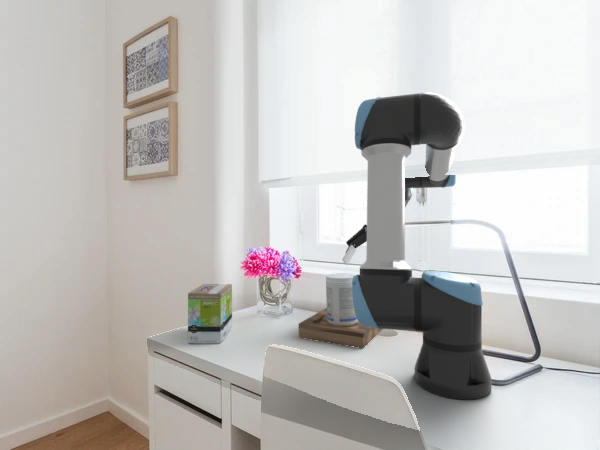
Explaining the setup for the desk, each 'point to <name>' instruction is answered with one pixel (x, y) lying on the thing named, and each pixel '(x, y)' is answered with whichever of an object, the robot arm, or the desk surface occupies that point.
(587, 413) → the desk surface
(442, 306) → the robot arm
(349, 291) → the supplement tub
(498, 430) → the desk surface
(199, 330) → the tea box
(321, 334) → the walnut base
